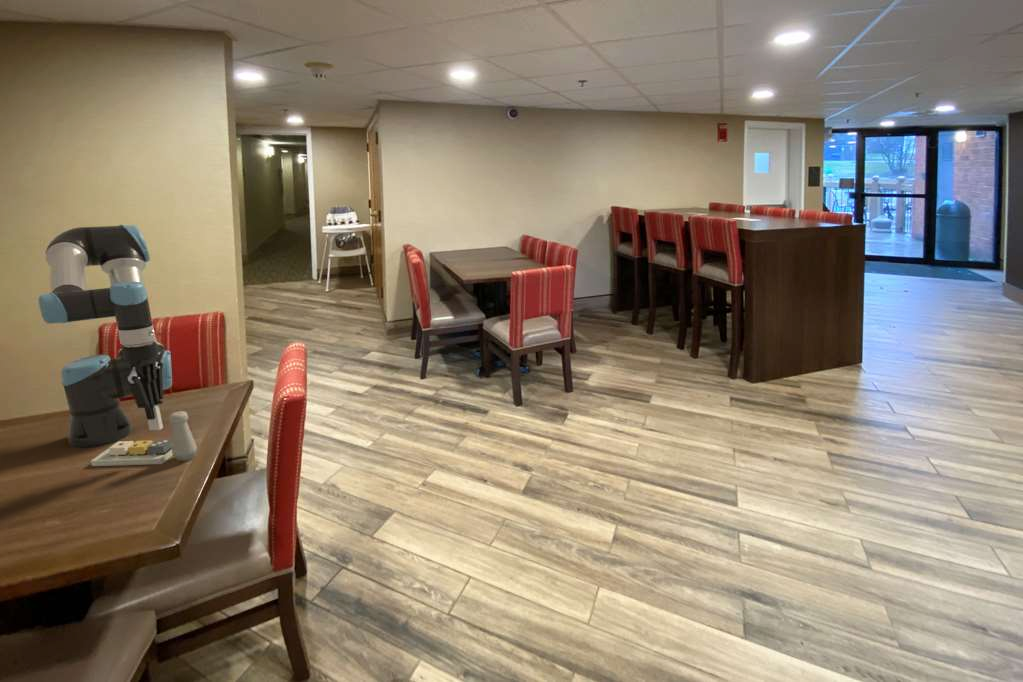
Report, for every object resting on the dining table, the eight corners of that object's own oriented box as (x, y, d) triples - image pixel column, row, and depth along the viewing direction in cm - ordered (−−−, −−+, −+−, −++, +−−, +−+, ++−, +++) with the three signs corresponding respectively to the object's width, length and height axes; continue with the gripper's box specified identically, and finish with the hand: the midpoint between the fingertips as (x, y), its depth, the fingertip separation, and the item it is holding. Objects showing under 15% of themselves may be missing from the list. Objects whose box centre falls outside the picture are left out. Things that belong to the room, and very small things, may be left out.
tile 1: (110, 455, 149) (108, 447, 148) (119, 448, 153) (118, 441, 152) (125, 454, 149) (124, 447, 149) (134, 447, 153) (133, 440, 152)
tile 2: (129, 454, 149) (128, 447, 149) (138, 447, 153) (137, 440, 152) (145, 453, 149) (143, 446, 149) (153, 447, 153) (152, 439, 153)
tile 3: (148, 453, 149) (147, 446, 149) (157, 446, 153) (155, 439, 153) (164, 453, 149) (162, 446, 149) (172, 446, 153) (170, 439, 153)
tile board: (91, 466, 147) (90, 461, 147) (113, 450, 156) (112, 445, 155) (162, 463, 148) (161, 458, 147) (180, 448, 156) (179, 443, 156)
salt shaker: (187, 464, 147) (178, 418, 144) (168, 462, 148) (159, 416, 145) (203, 453, 153) (195, 409, 149) (184, 452, 154) (176, 408, 150)
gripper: (138, 349, 137) (156, 438, 143) (167, 336, 150) (183, 418, 156) (107, 350, 137) (126, 439, 143) (139, 337, 149) (155, 419, 155)
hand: (156, 428), depth 149 cm, fingers closed
